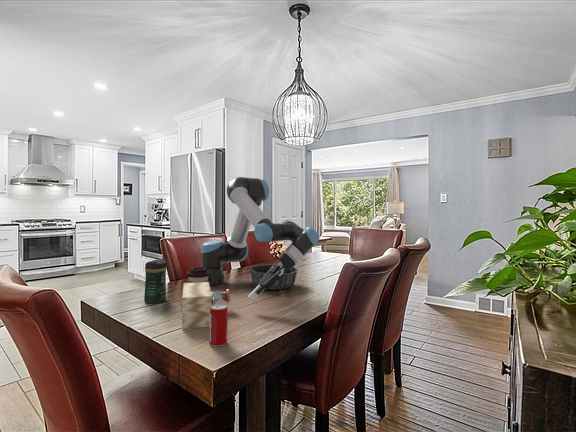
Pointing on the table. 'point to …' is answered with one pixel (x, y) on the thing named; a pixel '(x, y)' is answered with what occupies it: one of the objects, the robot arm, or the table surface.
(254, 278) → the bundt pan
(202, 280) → the coffee cup
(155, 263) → the coffee jar
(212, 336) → the soda can
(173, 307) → the table surface
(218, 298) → the red plug
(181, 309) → the steel plug
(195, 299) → the block
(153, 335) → the table surface
